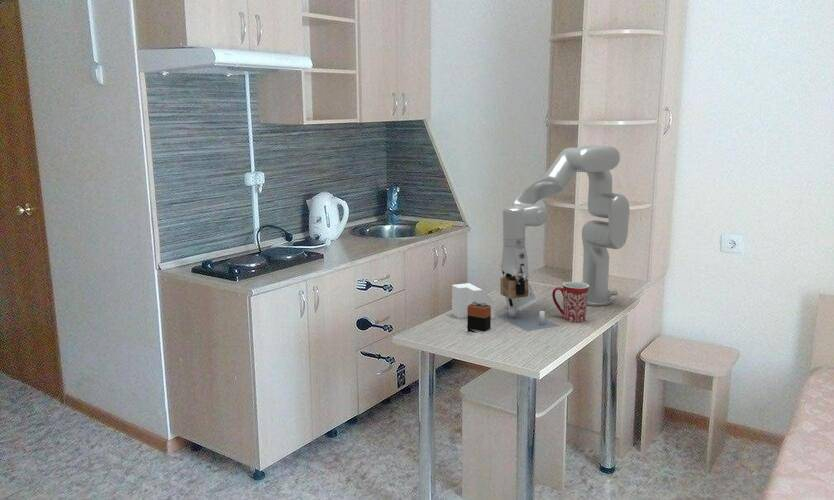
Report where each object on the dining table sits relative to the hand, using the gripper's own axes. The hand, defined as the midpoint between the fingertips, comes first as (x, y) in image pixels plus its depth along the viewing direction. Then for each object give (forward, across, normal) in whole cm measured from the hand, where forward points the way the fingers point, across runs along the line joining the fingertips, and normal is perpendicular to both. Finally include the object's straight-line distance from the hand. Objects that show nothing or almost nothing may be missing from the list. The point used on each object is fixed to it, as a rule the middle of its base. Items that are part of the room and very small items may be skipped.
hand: (514, 291), depth 237 cm
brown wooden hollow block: (+1, 0, 0) cm, 1 cm away
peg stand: (+10, -6, -1) cm, 12 cm away
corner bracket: (+10, +7, +13) cm, 18 cm away
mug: (+11, -10, -16) cm, 22 cm away
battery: (+10, -6, +18) cm, 21 cm away
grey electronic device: (+11, +11, -10) cm, 19 cm away
